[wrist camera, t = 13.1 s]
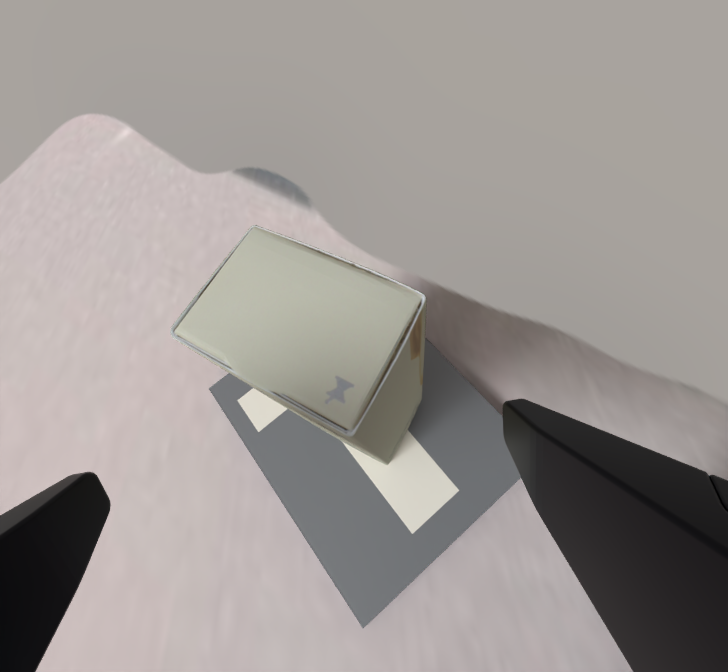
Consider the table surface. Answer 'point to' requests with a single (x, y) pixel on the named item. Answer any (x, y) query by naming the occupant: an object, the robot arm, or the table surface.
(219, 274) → the skincare box
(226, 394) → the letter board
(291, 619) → the table surface
